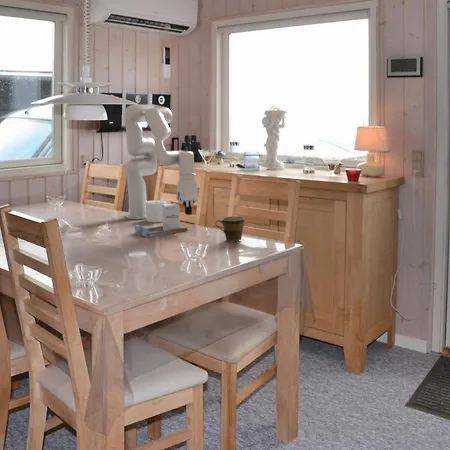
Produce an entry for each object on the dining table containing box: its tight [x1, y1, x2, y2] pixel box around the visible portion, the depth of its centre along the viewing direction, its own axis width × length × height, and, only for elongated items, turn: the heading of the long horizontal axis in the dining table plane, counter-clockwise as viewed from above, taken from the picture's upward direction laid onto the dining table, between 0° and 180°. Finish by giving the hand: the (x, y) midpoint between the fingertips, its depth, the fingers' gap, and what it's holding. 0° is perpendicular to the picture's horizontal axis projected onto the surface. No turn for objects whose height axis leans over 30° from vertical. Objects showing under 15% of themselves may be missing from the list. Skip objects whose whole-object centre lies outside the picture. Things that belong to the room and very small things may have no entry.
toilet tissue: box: [146, 199, 172, 223], centre depth 323 cm, size 11×12×10 cm
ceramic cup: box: [215, 216, 245, 242], centre depth 274 cm, size 13×10×10 cm
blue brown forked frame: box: [134, 224, 189, 238], centre depth 295 cm, size 12×22×4 cm, turn 126°
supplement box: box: [162, 203, 181, 231], centre depth 297 cm, size 7×7×13 cm
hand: (188, 214), depth 302 cm, fingers closed
